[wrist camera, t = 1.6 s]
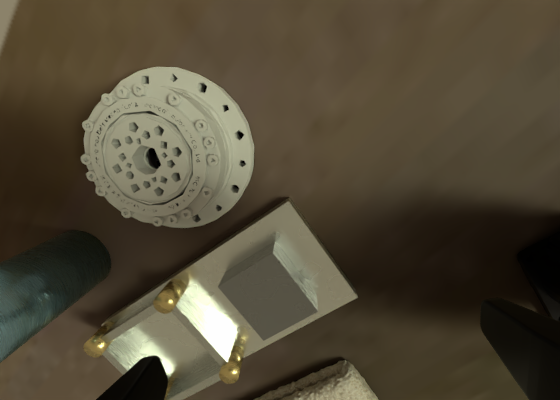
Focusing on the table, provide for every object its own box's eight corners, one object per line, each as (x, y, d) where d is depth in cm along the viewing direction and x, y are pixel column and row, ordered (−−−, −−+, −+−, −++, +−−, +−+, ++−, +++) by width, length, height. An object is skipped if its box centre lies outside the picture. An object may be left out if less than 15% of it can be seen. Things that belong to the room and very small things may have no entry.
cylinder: (123, 265, 21) (-44, 401, 11) (83, 293, 22) (-103, 442, 12) (80, 219, 20) (-146, 318, 10) (41, 250, 21) (-200, 370, 11)
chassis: (355, 288, 20) (364, 317, 17) (175, 385, 24) (158, 422, 21) (289, 197, 18) (287, 211, 15) (107, 317, 22) (79, 346, 19)
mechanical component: (85, 96, 18) (144, 233, 20) (17, 88, 13) (103, 263, 16) (228, 49, 16) (272, 203, 19) (203, 24, 12) (264, 226, 15)
